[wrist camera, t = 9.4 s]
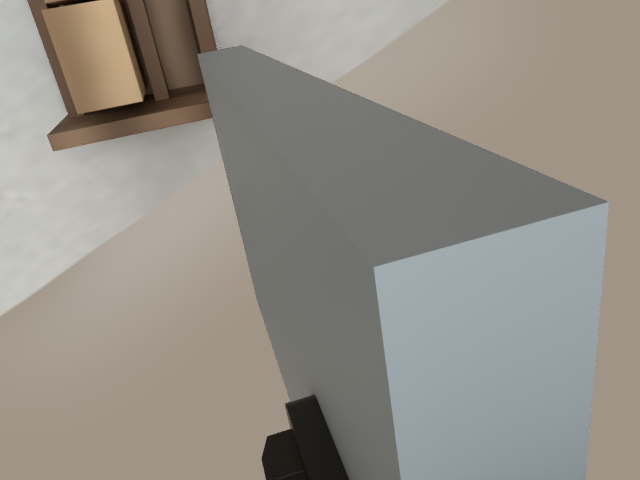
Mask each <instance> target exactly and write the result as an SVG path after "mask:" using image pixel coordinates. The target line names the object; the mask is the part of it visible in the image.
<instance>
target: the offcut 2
mask: <svg viewBox="0 0 640 480" xmlns="http://www.w3.org/2000/svg"><path fill="white" fill-rule="evenodd" d="M41 11H42V14H43V17H44V20H45V23H46V25H47V28H48V31H49V34H50V37H51V40H52V43H53V45H54V48H55V51H56V54H57V57H58V60H59V63H60V65H61V68H62V71H63V74H64V77H65V80H66V82H67V85H68V88H69V91H70V94H71V97H72V100H73V102H74V105H75V108H76V111H77V114H82V113H87V112H92V111H97V110H102V109H107V108H112V107H117V106H122V105H127V104H132V103H137V102H142V101H143V99H144V95H145V91H146V87H147V81H146V77H145V74H144V71H143V67H142V64H141V60H140V57H139V53H138V50H137V46H136V43H135V39H134V36H133V32H132V29H131V25H130V22H129V18H128V15H127V12H126V8H125V5H124V2H121V1H119V0H99V1H93V2H87V3H80V4H74V5H68V6H62V7H56V8H50V9H44V10H41Z"/></svg>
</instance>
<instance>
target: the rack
mask: <svg viewBox="0 0 640 480" xmlns="http://www.w3.org/2000/svg"><path fill="white" fill-rule="evenodd" d="M119 1H121V2H124V5H125V8H126V12H127V15H128V18H129V22H130V25H131V29H132V32H133V36H134V39H135V43H136V46H137V50H138V53H139V57H140V60H141V64H142V67H143V71H144V74H145V77H146V81H147V87H146V91H145V95H144V99H143V101H142V102H137V103H132V104H127V105H122V106H117V107H112V108H107V109H102V110H97V111H92V112H87V113H82V114H77V111H76V108H75V105H74V102H73V100H72V97H71V94H70V91H69V88H68V85H67V82H66V80H65V77H64V74H63V71H62V68H61V65H60V63H59V60H58V57H57V54H56V51H55V48H54V45H53V43H52V40H51V37H50V34H49V31H48V28H47V25H46V23H45V20H44V17H43V14H42V11H41V10H44V9H50V8H56V7H62V6H63V5H55V4H47V3H45V1H44V0H28V3H29V6H30V9H31V12H32V14H33V17H34V20H35V23H36V26H37V28H38V31H39V34H40V37H41V39H42V42H43V45H44V48H45V51H46V53H47V56H48V59H49V62H50V65H51V67H52V70H53V73H54V76H55V79H56V81H57V84H58V87H59V90H60V93H61V95H62V98H63V101H64V104H65V107H66V109H67V112H68V115H67V116H66V117H65V118H64V119H63V120H62V121H61V122H60V123H59V124H58V125H57V126H56V127H55V128H54V129H53V130H52V131H51V132H50V133H49V134H48V135H47V136H48V139H49V142H50V144H51V147H52V149H53V151H57V150H62V149H67V148H72V147H76V146H81V145H86V144H90V143H95V142H100V141H105V140H109V139H114V138H119V137H124V136H128V135H133V134H138V133H142V132H147V131H152V130H157V129H161V128H166V127H171V126H176V125H180V124H185V123H190V122H194V121H199V120H204V119H209V118H213V117H212V113H211V109H210V104H209V100H208V96H207V92H206V88H205V84H204V80H203V76H202V72H201V68H200V63H199V59H198V55H197V54H200V53H205V52H211V51H216V50H217V49H216V44H215V40H214V35H213V31H212V27H211V22H210V18H209V13H208V9H207V5H206V0H119Z"/></svg>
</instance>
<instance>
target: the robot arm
mask: <svg viewBox="0 0 640 480" xmlns="http://www.w3.org/2000/svg"><path fill="white" fill-rule="evenodd" d="M285 407H286V411H287V416H288V420H289V423H290V428H291V429H289V430H286V431H283V432H280V433H277V434H273V435H270V436H268V437H267V440H266V444H265V448H264V451H263V455H262V463H263V467H264V472H265V477H266V480H349V477H348V475H347V472H346V470H345V467H344V465H343V462H342V460H341V457H340V455H339V453H338V450H337V448H336V445H335V443H334V440H333V438H332V435H331V433H330V430H329V428H328V425H327V423H326V420H325V418H324V415H323V413H322V410H321V408H320V405H319V403H318V400H317V398H316V396H315V395H311V396H307V397H304V398H301V399H298V400H295V401H292V402H289V403H286V404H285Z"/></svg>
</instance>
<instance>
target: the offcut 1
mask: <svg viewBox="0 0 640 480" xmlns="http://www.w3.org/2000/svg"><path fill="white" fill-rule="evenodd" d="M44 1H45V3H47V4H55V5H63V6H68V5H74V4H80V3H87V2H93V1H99V0H44Z"/></svg>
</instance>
